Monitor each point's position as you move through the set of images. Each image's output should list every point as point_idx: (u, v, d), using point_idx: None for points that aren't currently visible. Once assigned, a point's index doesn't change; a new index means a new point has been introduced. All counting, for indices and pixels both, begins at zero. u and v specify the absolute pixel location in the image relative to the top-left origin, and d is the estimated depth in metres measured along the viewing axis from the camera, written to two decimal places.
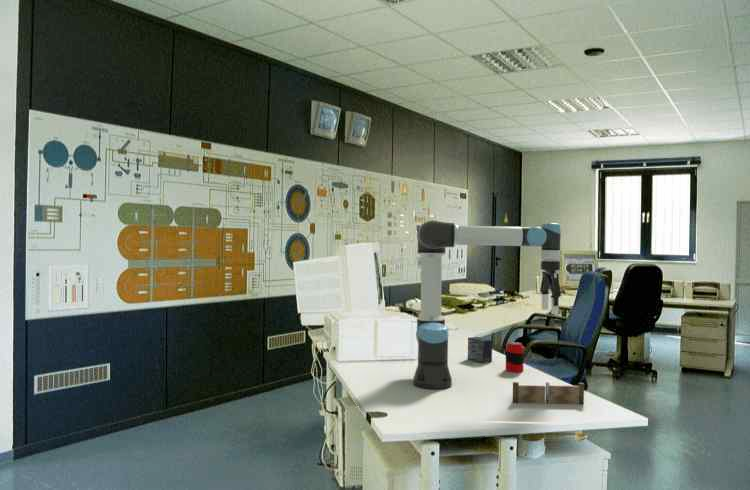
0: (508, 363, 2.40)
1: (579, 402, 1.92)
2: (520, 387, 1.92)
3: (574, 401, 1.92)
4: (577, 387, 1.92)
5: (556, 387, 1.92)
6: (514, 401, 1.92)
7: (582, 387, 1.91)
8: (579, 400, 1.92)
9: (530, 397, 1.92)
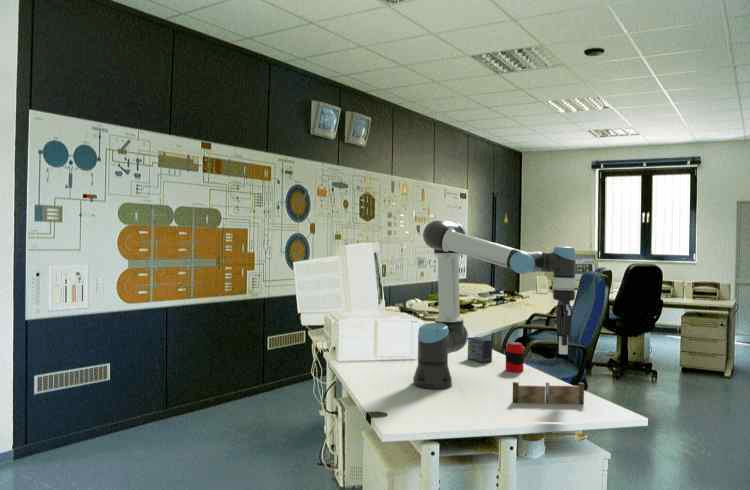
0: (508, 363, 2.40)
1: (579, 402, 1.92)
2: (520, 387, 1.92)
3: (574, 401, 1.92)
4: (577, 387, 1.92)
5: (556, 387, 1.92)
6: (514, 401, 1.92)
7: (582, 387, 1.91)
8: (579, 400, 1.92)
9: (530, 397, 1.92)
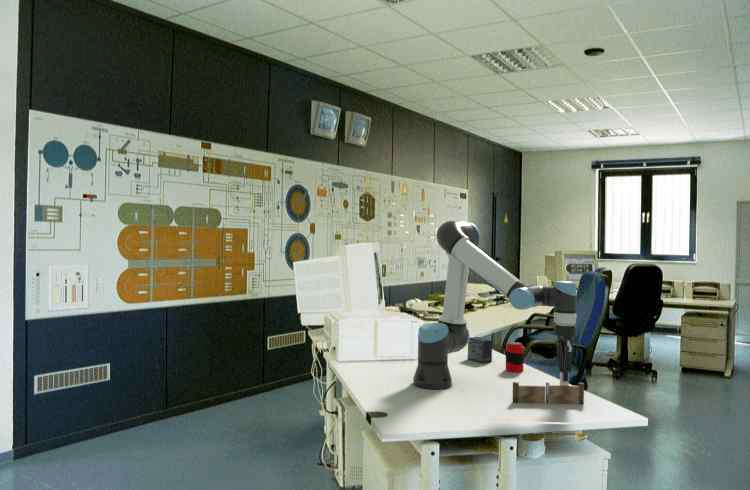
0: (508, 363, 2.40)
1: (579, 402, 1.92)
2: (520, 387, 1.92)
3: (574, 401, 1.92)
4: (577, 387, 1.92)
5: (556, 387, 1.92)
6: (514, 401, 1.92)
7: (582, 387, 1.91)
8: (579, 400, 1.92)
9: (530, 397, 1.92)
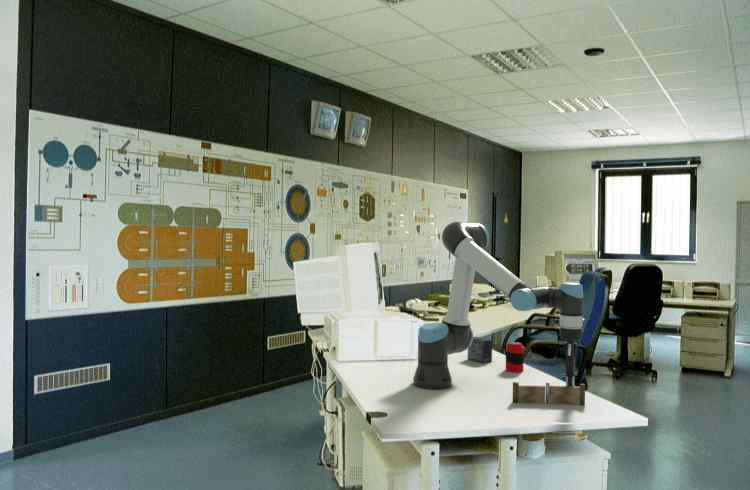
0: (508, 363, 2.40)
1: (580, 403, 1.91)
2: (520, 387, 1.92)
3: (575, 402, 1.91)
4: (578, 388, 1.91)
5: (556, 388, 1.92)
6: (514, 401, 1.92)
7: (583, 388, 1.90)
8: (580, 401, 1.90)
9: (530, 397, 1.92)
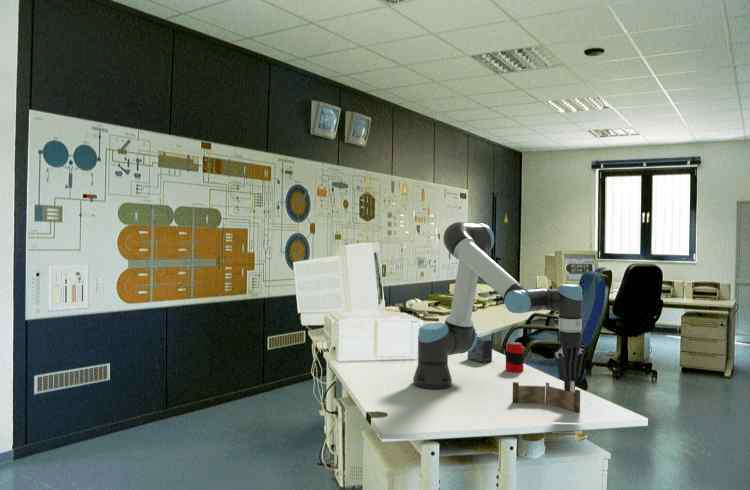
0: (508, 363, 2.40)
1: (574, 409, 1.83)
2: (520, 387, 1.92)
3: (569, 407, 1.85)
4: (572, 393, 1.84)
5: (553, 389, 1.90)
6: (514, 401, 1.92)
7: (576, 394, 1.82)
8: (574, 407, 1.83)
9: (530, 397, 1.92)
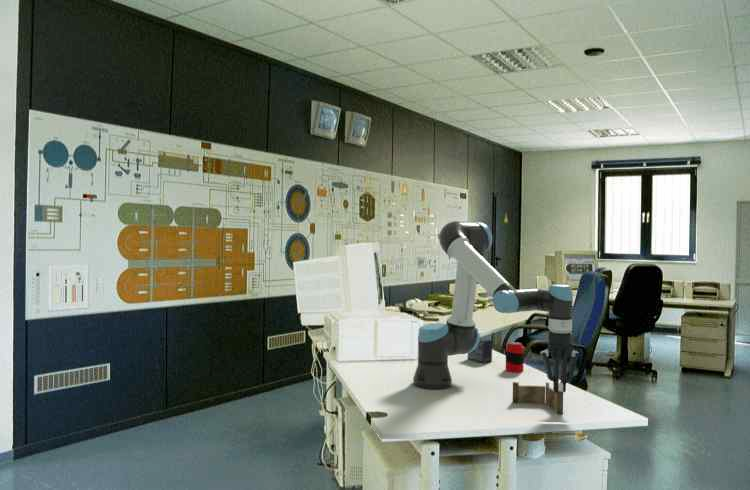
0: (508, 363, 2.40)
1: (557, 411, 1.82)
2: (520, 387, 1.92)
3: (555, 408, 1.83)
4: (557, 394, 1.82)
5: (549, 389, 1.90)
6: (514, 401, 1.92)
7: (557, 395, 1.81)
8: (557, 409, 1.82)
9: (530, 397, 1.92)
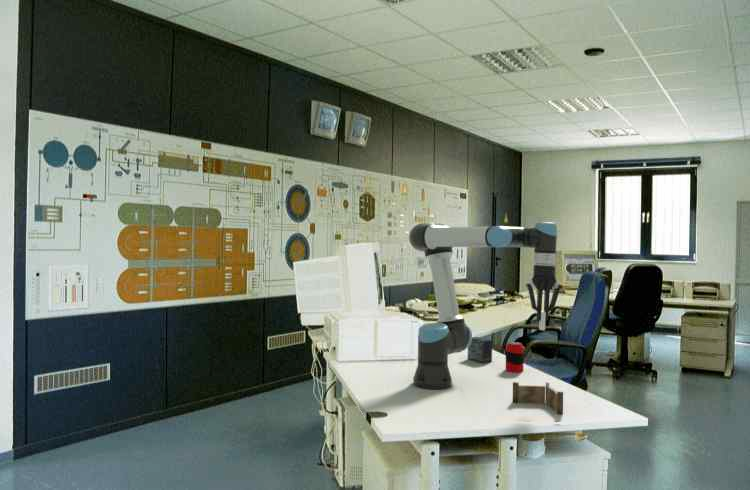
0: (508, 363, 2.40)
1: (557, 411, 1.82)
2: (520, 387, 1.92)
3: (555, 408, 1.83)
4: (557, 394, 1.82)
5: (549, 389, 1.90)
6: (514, 401, 1.92)
7: (557, 395, 1.81)
8: (557, 409, 1.82)
9: (530, 397, 1.92)
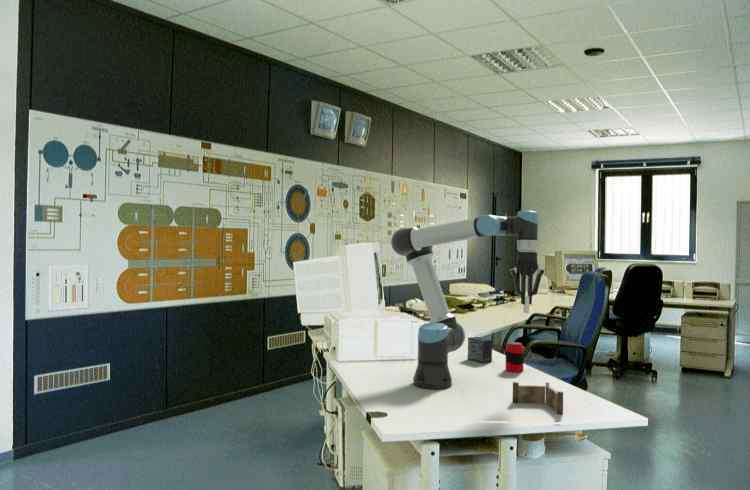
0: (508, 363, 2.40)
1: (557, 411, 1.82)
2: (520, 387, 1.92)
3: (555, 408, 1.83)
4: (557, 394, 1.82)
5: (549, 389, 1.90)
6: (514, 401, 1.92)
7: (557, 395, 1.81)
8: (557, 409, 1.82)
9: (530, 397, 1.92)
